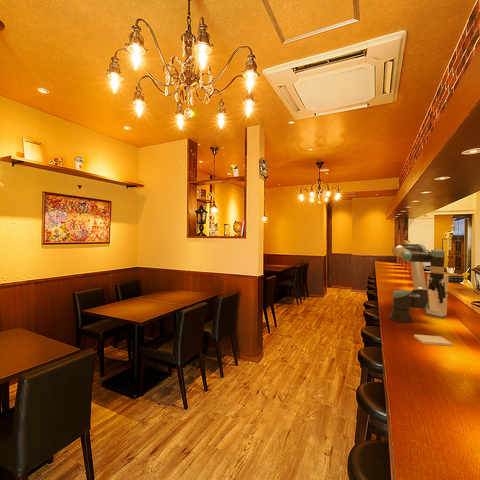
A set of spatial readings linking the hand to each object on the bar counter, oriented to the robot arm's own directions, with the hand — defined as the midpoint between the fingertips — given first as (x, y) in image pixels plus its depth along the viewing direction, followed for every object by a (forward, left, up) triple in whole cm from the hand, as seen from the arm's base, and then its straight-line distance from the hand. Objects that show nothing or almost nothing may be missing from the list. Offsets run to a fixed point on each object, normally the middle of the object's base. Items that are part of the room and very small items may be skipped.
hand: (435, 306), depth 181 cm
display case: (-49, +26, -20) cm, 59 cm away
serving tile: (+13, -8, -20) cm, 25 cm away
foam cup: (0, 0, -3) cm, 3 cm away
